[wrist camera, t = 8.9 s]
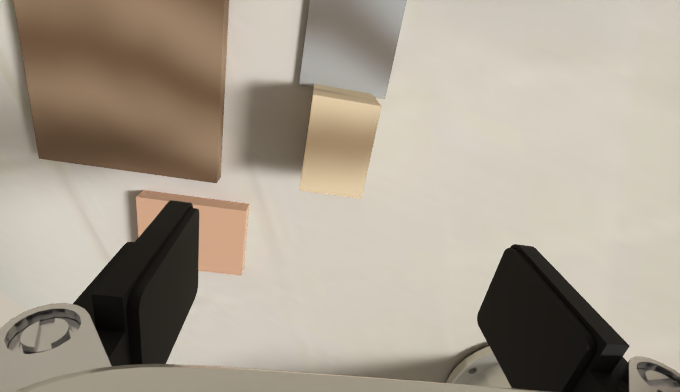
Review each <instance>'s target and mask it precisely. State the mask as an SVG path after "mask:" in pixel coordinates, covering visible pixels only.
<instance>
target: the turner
mask: <svg viewBox="0 0 680 392" xmlns="http://www.w3.org/2000/svg"><path fill="white" fill-rule="evenodd" d="M406 1H407V0H310V2H309V10H308V18H307V26H306V34H305V42H304V50H303V58H302V66H301V74H300V82H299V84H301V85H307V86H313V87H314V89H313V96H312V103H311V110H310V117H309V124H308V131H307V138H306V145H305V152H304V159H303V167H302V175H301V183H300V190H302V191H309V192H316V193H323V194H331V195H338V196H345V197H352V198H359V199H361V197H362V193H363V188H364V184H365V179H366V175H367V170H368V165H369V161H370V156H371V152H372V147H373V143H374V138H375V133H376V129H377V124H378V120H379V115H380V110H381V105H380V104H379V103H378V101H377V100H376V99H375V97H377V98H382V99H385V96H386V92H387V87H388V83H389V78H390V74H391V69H392V65H393V60H394V56H395V51H396V47H397V42H398V37H399V33H400V28H401V24H402V19H403V15H404V10H405V6H406Z"/></svg>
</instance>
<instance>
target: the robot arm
mask: <svg viewBox="0 0 680 392" xmlns="http://www.w3.org/2000/svg"><path fill="white" fill-rule="evenodd" d="M198 258H199V209H196V208H193V205H192V203H189V202H181V201H173V200H170V201H169V202H168V203H167V204H166V205H165V207H164V208H163V209H162V210H161V211H160V213H159V214H158V215H157V216H156V217H155V219H154V220H153V221H152V222H151V223H150V225H149V226H148V227H147V228H146V229H145V231H144V232H143V233H142V234H141V235H140V237H139V238H138V239H137V240H136V241H135V242H127V243H126V244H125V245H124V246H123V247H122V248H121V249H120V250H119V252H118V253H117V254H116V255H115V256H114V257H113V258H112V260H111V261H110V262H109V263H108V264H107V265H106V266H105V268H104V269H103V270H102V271H101V272H100V273H99V274H98V276H97V277H96V278H95V279H94V280H93V281H92V283H91V284H90V285H89V286H88V287H87V288H86V289H85V291H84V292H83V293H82V294H81V295H80V296H79V297H78V299H77V300H76V301H75V302H74V303H73V304H68V303H57V304H49V305H44V306H39V307H36V308H33V309H31V310H28V311H25V312H23V313H21V314H20V315H18V316H16V317H14V318H12V319H11V320H10V321H9V322H7V323H6V324H5V325H4V326H3V327H1V329H0V392H680V374H679V373H678V372H676V371H675V370H673V369H672V368H670V367H668V366H666V365H664V364H663V363H660V362H658V361H655V360H653V359H650V358H646V357H633V358H631V359H630V360H629V362H627V361H626V360H625V359H624V358H623V357H622V356H623V355H624V353H625V352H626V351H627V349H628V348H629V345H628V344H627V343H626V342H625V341H624V340H623V339H622V338H621V337H620V336H619V335H618V334H617V332H616V331H615V330H614V329H613V328H612V327H611V326H610V325H609V324H608V323H607V322H606V321H605V320H604V319H603V318H602V317H601V316H600V315H599V314H598V313H597V312H596V311H595V310H594V309H593V308H592V307H591V305H590V304H589V303H588V302H587V301H586V300H585V299H584V298H583V297H582V296H581V295H580V294H579V293H578V292H577V291H576V290H575V289H574V288H573V287H572V286H571V285H570V284H569V283H568V282H567V281H566V280H565V279H564V277H563V276H562V275H561V274H560V273H559V272H558V271H557V270H556V269H555V268H554V267H553V266H552V265H551V264H550V263H549V262H548V261H547V260H546V259H545V258H544V257H543V256H542V255H541V254H540V253H539V252H538V250H537V249H536V248H534V247H531V246H524V245H516V244H514V245H512V246H511V247H510V248H508V249H506V250H505V251H504V253H503V256H502V258H501V261H500V263H499V265H498V268H497V270H496V272H495V275H494V277H493V279H492V282H491V284H490V286H489V289H488V291H487V293H486V296H485V298H484V301H483V303H482V305H481V308H480V310H479V312H478V316H477V321H478V325H479V327H480V329H481V331H482V333H483V335H484V337H485V339H486V340H487V342H488V344H489V346H488V347H485V348H483V349H481V350H479V351H476V352H475V353H473V354H472V355H470V356H468V357H467V358H466V359H464V360H463V361H462V362H461V363H460V364H458V366H457V367H456V368H455V369H454V370H453V372H452V373H451V374H450V376H449V378H448V380H447V382H446V383H438V382H426V381H413V380H399V379H386V378H373V377H360V376H346V375H332V374H318V373H304V372H290V371H276V370H263V369H249V368H235V367H221V366H200V365H174V364H166V362H167V360H168V357H169V355H170V353H171V351H172V348H173V346H174V344H175V342H176V339H177V337H178V335H179V333H180V330H181V328H182V326H183V324H184V321H185V319H186V317H187V315H188V313H189V310H190V308H191V306H192V304H193V301H194V299H195V297H196V293H197V288H198Z"/></svg>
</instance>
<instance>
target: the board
mask: <svg viewBox="0 0 680 392" xmlns="http://www.w3.org/2000/svg"><path fill="white" fill-rule="evenodd" d="M13 1H14V7H15V13H16V19H17V26H18V32H19V38H20V44H21V50H22V56H23V62H24V69H25V75H26V81H27V87H28V93H29V99H30V105H31V112H32V118H33V124H34V130H35V136H36V142H37V148H38V155H39V159H47V160H54V161H61V162H68V163H75V164H83V165H90V166H97V167H104V168H111V169H119V170H126V171H133V172H140V173H147V174H155V175H162V176H169V177H176V178H183V179H191V180H198V181H205V182H212V183H217V182H218V180H219V179H220V177H221V156H222V135H223V114H224V93H225V71H226V50H227V29H228V8H229V0H13Z"/></svg>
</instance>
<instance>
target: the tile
mask: <svg viewBox="0 0 680 392" xmlns="http://www.w3.org/2000/svg"><path fill="white" fill-rule="evenodd" d="M170 200H173V201H181V202H189V203H192V205H193V208H196V209H199V258H198V271H206V272H215V273H224V274H234V275H242V272H243V269H244V264H245V251H246V239H247V226H248V214H249V204H245V203H237V202H230V201H222V200H214V199H207V198H199V197H192V196H184V195H176V194H169V193H161V192H153V191H146V190H143V191H142V192H141V193H140V194H139V195H137V196H136V207H137V224H138V238H139V237H140V235H141V234H142V233H143V232H144V231H145V229H146V228H147V227H148V226H149V225H150V223H151V222H152V221H153V220H154V219H155V217H156V216H157V215H158V214H159V213H160V211H161V210H162V209H163V208H164V207H165V205H166V204H167V203H168V202H169V201H170Z"/></svg>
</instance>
